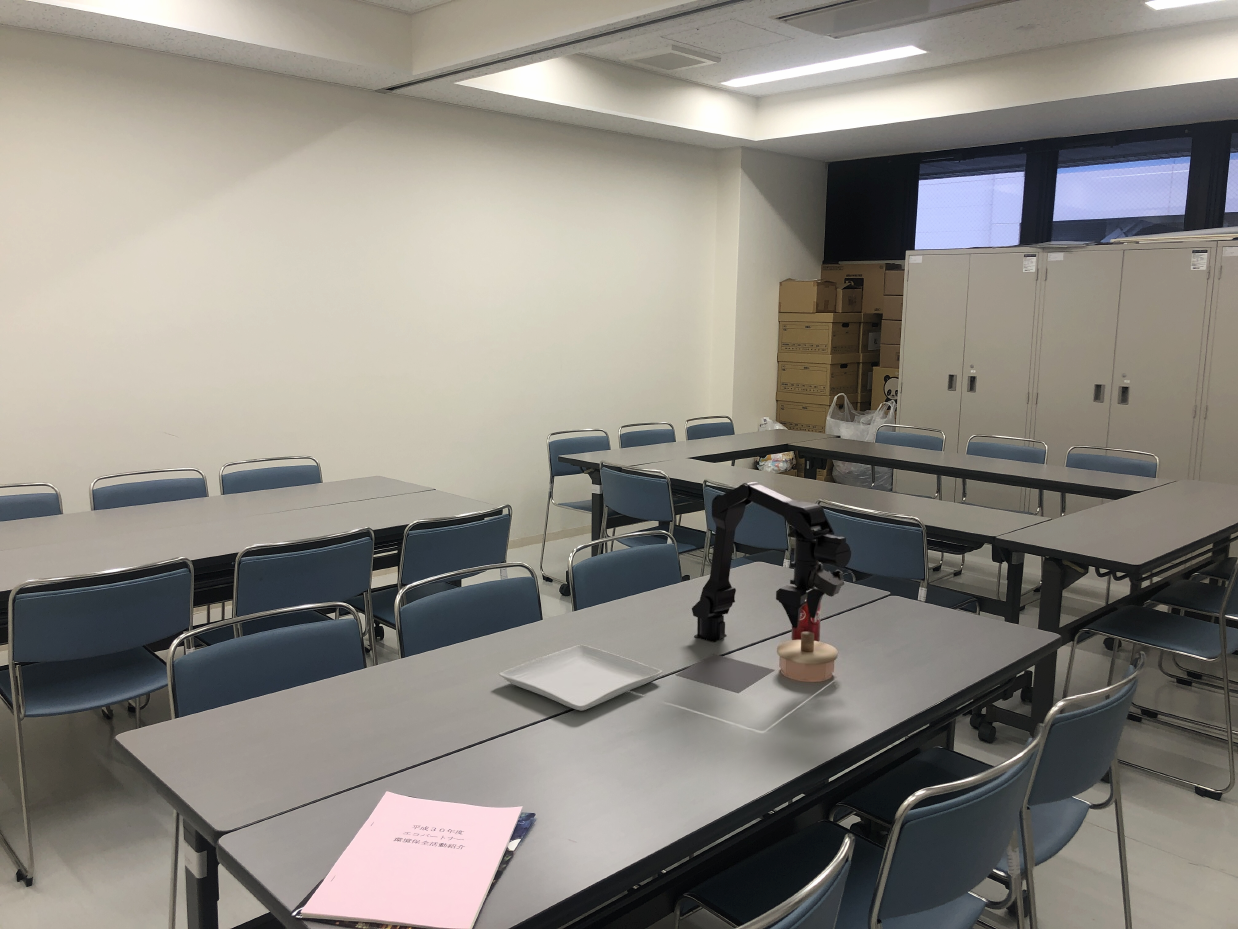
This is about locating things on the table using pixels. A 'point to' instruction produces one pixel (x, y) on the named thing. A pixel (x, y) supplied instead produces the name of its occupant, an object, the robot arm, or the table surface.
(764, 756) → the table surface
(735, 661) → the mat
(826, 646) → the lid
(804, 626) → the soda can
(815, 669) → the bowl
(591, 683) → the square plate
